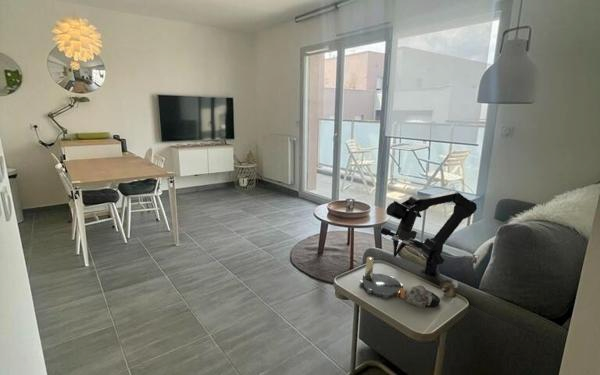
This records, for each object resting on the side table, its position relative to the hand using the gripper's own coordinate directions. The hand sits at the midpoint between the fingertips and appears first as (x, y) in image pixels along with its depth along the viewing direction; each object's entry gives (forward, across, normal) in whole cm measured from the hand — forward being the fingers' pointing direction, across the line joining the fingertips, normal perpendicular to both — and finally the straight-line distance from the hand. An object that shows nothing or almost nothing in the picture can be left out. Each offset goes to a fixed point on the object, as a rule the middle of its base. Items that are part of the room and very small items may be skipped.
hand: (394, 256), depth 142 cm
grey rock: (+12, +15, -11) cm, 22 cm away
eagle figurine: (+6, +24, -1) cm, 25 cm away
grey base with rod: (+14, -1, -6) cm, 15 cm away
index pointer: (+14, +7, -10) cm, 19 cm away
